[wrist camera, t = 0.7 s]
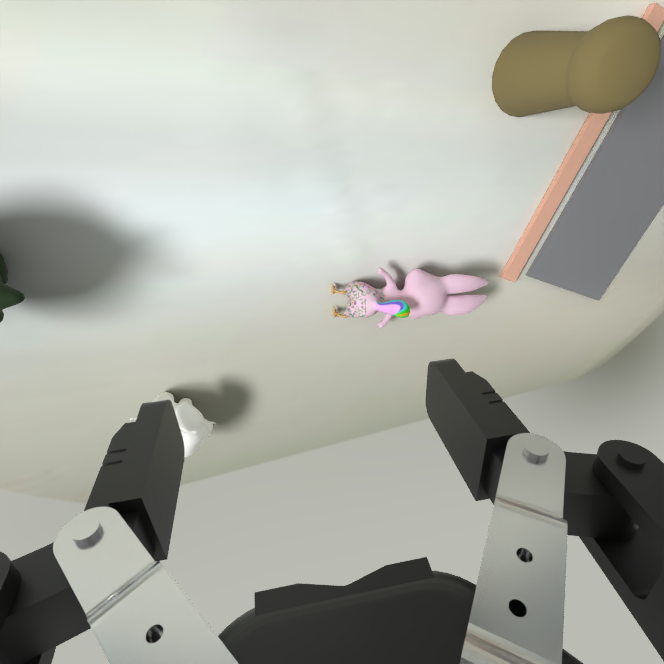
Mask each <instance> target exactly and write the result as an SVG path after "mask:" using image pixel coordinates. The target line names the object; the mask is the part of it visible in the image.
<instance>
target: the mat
mask: <svg viewBox="0 0 664 664" xmlns="http://www.w3.org/2000/svg"><path fill="white" fill-rule="evenodd" d="M660 44H661V56H660V61H659V66H658V68H657V71H656V73H655V76H654V78H653V80H652V81H651V83H650V84H649V86H648V87H647V88H646V90H645V91H644V92H643V93H642V94H641V95H640V96H639V97H638V98H637V99H635V100H634V101H633V102H632V103H630V104H629V105H627V106H625V107H623V108H622V109H621V111H620V113H619V114H618V116H617V118H616V119H615V121H614V123H613V125H612V126H611V128H610V130H609V132H608V133H607V135H606V137H605V139H604V140H603V142H602V144H601V146H600V147H599V149H598V151H597V152H596V154H595V156H594V158H593V159H592V161H591V163H590V165H589V166H588V168H587V170H586V172H585V173H584V175H583V177H582V178H581V180H580V182H579V184H578V185H577V187H576V189H575V191H574V192H573V194H572V196H571V198H570V199H569V201H568V203H567V205H566V206H565V208H564V210H563V211H562V213H561V215H560V217H559V218H558V220H557V222H556V224H555V225H554V227H553V229H552V231H551V232H550V234H549V236H548V237H547V239H546V241H545V243H544V244H543V246H542V248H541V250H540V251H539V253H538V255H537V257H536V258H535V260H534V262H533V264H532V265H531V267H530V269H529V270H528V272H527V274H526V275H527V276H529V277H532V278H535V279H538V280H541V281H544V282H547V283H549V284H552V285H555V286H558V287H561V288H564V289H567V290H570V291H573V292H575V293H578V294H581V295H584V296H587V297H590V298H593V299H596V300H600V298H601V297H602V295H603V294H604V292H605V291H606V289H607V288H608V286H609V285H610V283H611V282H612V280H613V279H614V277H615V276H616V274H617V273H618V271H619V270H620V268H621V267H622V265H623V264H624V262H625V261H626V259H627V258H628V256H629V255H630V253H631V252H632V250H633V249H634V247H635V246H636V244H637V243H638V241H639V240H640V238H641V237H642V236H643V234H644V233H645V231H646V230H647V228H648V227H649V225H650V224H651V222H652V221H653V219H654V218H655V216H656V215H657V213H658V212H659V210H660V209H661V207H662V206H663V204H664V36H663V38H662V40H661V41H660Z"/></svg>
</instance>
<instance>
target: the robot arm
mask: <svg viewBox="0 0 664 664" xmlns="http://www.w3.org/2000/svg"><path fill="white" fill-rule="evenodd" d="M426 408H427V413H428V416H429V418H430V420H431V422H432V424H433V425H434V427H435V429H436V431H437V432H438V434H439V436H440V438H441V439H442V441H443V443H444V445H445V447H446V449H447V450H448V452H449V454H450V456H451V457H452V459H453V461H454V463H455V464H456V466H457V468H458V470H459V472H460V473H461V475H462V477H463V479H464V481H465V482H466V484H467V486H468V488H469V489H470V491H471V493H472V495H473V497H474V498H475V500H476V501H478V500H484V499H489V498H490V500H491V501H492V503H493V505H494V507H493V512H492V516H491V521H490V525H489V530H488V535H487V539H486V544H485V548H484V553H483V558H482V562H481V567H480V572H479V576H478V581H477V586H476V585H475V584H473V583H471V582H469V581H467V580H465V579H463V578H461V577H458V576H455V575H452V574H448V573H443V572H439V571H432V570H431V567H430V565H429V562H428V560H427V557H425V558H420V559H415V560H410V561H405V562H400V563H396V564H391V565H386V566H384V567H382V568H380V569H378V570H376V571H374V572H372V573H370V574H368V575H366V576H364V577H363V578H361V579H359V580H357V581H355V582H353V583H351V584H349V585H346V586H331V585H330V586H329V585H314V584H294V585H290V586H285V587H280V588H275V589H270V590H265V591H260V592H255V608H253V609H252V610H250V611H248V612H246V613H245V614H243V615H242V616H240V617H239V618H237V619H236V620H235V621H234V622H232V623H231V624H230V625H229V626H227V627H226V629H224V631H222V633H221V634H220V635H219V636H217V635H216V634H215V632H214V631H213V630H212V628H211V627H210V626H209V624H208V623H207V622H206V620H205V619H204V618H203V616H202V615H201V614H200V613H199V611H198V610H197V609H196V607H195V606H194V605H193V603H192V602H191V601H190V599H189V598H188V597H187V595H186V594H185V593H184V592H183V590H182V589H181V588H180V586H179V585H178V584H177V582H176V581H175V580H174V579H173V577H172V576H171V575H170V573H169V572H168V571H167V569H166V568H165V567H164V566H163V564H162V563H161V562H159V561H160V560H165V559H167V556H168V550H169V544H170V538H171V533H172V527H173V520H174V515H175V509H176V503H177V498H178V492H179V486H180V480H181V474H182V469H183V463H184V455H185V450H184V441H183V437H182V433H181V430H180V427H179V424H178V420H177V417H176V414H175V411H174V408H173V405H172V402H171V401H170V400H163V401H156V402H149V403H143V404H142V405H141V408H140V411H139V414H138V417H137V419H136V422H132V423H125V424H124V425H123V426H122V428H121V429H120V430H119V431H118V432H117V433H116V434H115V435H114V436H113V438H112V440H111V443H110V445H109V448H108V451H107V454H106V456H105V458H104V461H103V463H102V464H103V466H102V467H101V469H100V471H99V474H98V476H97V479H96V481H95V484H94V486H93V489H92V492H91V494H90V497H89V499H88V502H87V504H86V507H85V510H84V512H82V513H80V514H79V515H77V516H75V517H74V518H72V519H71V520H70V521H69V522H67V523H66V524H65V526H63V528H62V529H61V530H60V531H59V533H58V534H57V536H56V538H55V541H54V542H53V543H52V544H49V545H47V546H45V547H43V548H41V549H39V550H36V551H34V552H32V553H29V554H27V555H25V556H22V557H20V558H18V559H16V560H13V561H10V559H9V558H8V557H7V555H5V554H4V553H2V552H0V664H51V662H52V659H53V656H54V652H55V649H56V646H58V645H59V644H61V643H63V642H65V641H67V640H69V639H71V638H73V637H74V636H77V635H78V634H80V633H82V632H84V631H86V630H88V629H90V628H92V631H93V633H94V634H95V636H96V638H97V640H98V642H99V644H100V646H101V648H102V650H103V651H104V653H105V655H106V657H107V659H108V661H109V663H110V664H583V663H582V662H580V661H579V660H577V659H576V658H575V657H573V656H572V655H571V654H569V653H568V652H567V651H565V650H564V649H562V647H563V623H564V600H565V574H566V553H567V535H574V536H579V537H580V539H581V540H582V541H583V543H584V544H585V546H586V547H587V549H588V550H589V552H590V553H591V555H592V556H593V558H594V559H595V561H596V562H597V563H598V565H599V566H600V568H601V569H602V571H603V572H604V574H605V575H606V577H607V578H608V580H609V581H610V583H611V584H612V585H613V587H614V589H615V590H616V591H617V593H618V594H619V596H620V597H621V598H622V600H623V602H624V603H625V605H626V606H627V608H628V609H629V611H630V612H631V614H632V615H633V616H634V618H635V619H636V621H637V622H638V624H639V625H640V626H641V628H642V629H643V631H644V633H645V634H646V636H647V637H648V639H649V640H650V642H651V643H652V644H653V646H654V647H655V649H656V650H657V652H658V653H659V655H660V656H661V658H662V659H663V661H664V463H663V462H661V461H660V460H659V459H658V458H657V457H656V456H655V455H654V454H653V453H651V452H650V451H649V450H647V449H645V448H643V447H641V446H639V445H637V444H634V443H631V442H627V441H622V440H610V441H606V442H604V443H603V444H601V445H600V447H599V449H598V452H597V455H595V454H583V453H572V452H564V451H563V450H562V449H561V448H560V447H559V446H558V445H557V444H556V443H554V442H553V441H552V440H550V439H548V438H546V437H544V436H541V435H538V434H532V433H530V432H529V431H528V430H527V428H526V427H525V426H524V425H523V424H522V422H521V421H520V420H519V419H518V418H517V417H516V415H515V414H514V413H513V412H512V411H511V409H510V408H509V407H508V406H507V405H506V403H505V402H503V401H502V399H501V397H500V396H499V395H498V394H497V393H495V390H494V389H493V388H492V387H491V385H490V384H489V383H488V382H487V381H486V380H485V379H484V378H482V377H480V376H479V375H477V374H475V373H474V372H466V373H465V371H464V370H463V369H462V368H461V366H460V365H459V364H458V363H457V361H456V360H455V359H446V360H440V361H433V362H430V363H429V365H428V375H427V389H426ZM155 561H157V562H155Z"/></svg>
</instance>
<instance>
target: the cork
mask: <svg viewBox="0 0 664 664" xmlns="http://www.w3.org/2000/svg"><path fill="white" fill-rule="evenodd" d="M660 56H661V44H660V38H659V36H658V34H657V31H656V29H655V28H654V27H653V26H652V25H651V24H650V23H649V22H647V21H646V20H645V19H642V18H638V17H634V16H623V17H617V18H613V19H609V20H607V21H605V22H603V23H602V24H600V25H598V26H597V27H595V28H593V29H592V30H590V31H589V32H584V31H531V32H526V33H523V34H521V35H519V36H518V37H516V38H514V39H513V40H512V41H511V42H510V43H509V44H508V45H507V46H506V47H505V48H504V49H503V51H502V52H501V54H500V56H499V58H498V60H497V62H496V65H495V68H494V72H493V76H492V90H493V94H494V98H495V101H496V103H497V104H498V106H499V107H500V109H501V110H502V111H504V112H505V113H507V114H508V115H510V116H516V117H522V116H527V115H532V114H537V113H542V112H547V111H552V110H557V109H562V108H567V107H572V106H577V107H579V108H580V109H582V110H584V111H586V112H591V113H597V114H604V113H608V112H613V111H616V110H620V109H622V108H623V107H625V106H627V105H629V104H630V103H632V102H633V101H634V100H635V99H637V98H638V97H639V96H640V95H641V94H642V93H643V92H644V91H645V90H646V88H647V87H648V86H649V84H650V83H651V81H652V80H653V78H654V76H655V73H656V71H657V68H658V66H659V61H660Z"/></svg>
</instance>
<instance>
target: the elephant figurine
mask: <svg viewBox="0 0 664 664" xmlns="http://www.w3.org/2000/svg"><path fill="white" fill-rule="evenodd" d="M163 400H170V401H171V402H172V405H173V408H174V411H175V414H176V417H177V420H178V424H179V427H180V430H181V433H182V437H183V441H184V450H185V455H184V459H185V457H187V456H190V455H191V454H193V453H194V452H195V451H196V450H197V448H198V447H199V446H200V445H201V444H202V443H203V442H204V441H205V440H206V439H207V438H208V437H210V436H209V435H210V434H211V432H212V429H213V424H216V423H215V422H211V421H207V420H206V419H204V417H203V415H202V414H201V412H200V411H199V410H198V409H196V408H195V407H194V406H193V405H192V401H191V400H190V399H188V398H183V399H181V400H180V401H179V403H175V402H174V397H173V395H172V394H171V393H169V392H163V393H161V394H159V395H158V396H157V397H156V398H155V399H154V400H153V401H152V402H156V401H163ZM132 419H137V418H130V420H132Z"/></svg>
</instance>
